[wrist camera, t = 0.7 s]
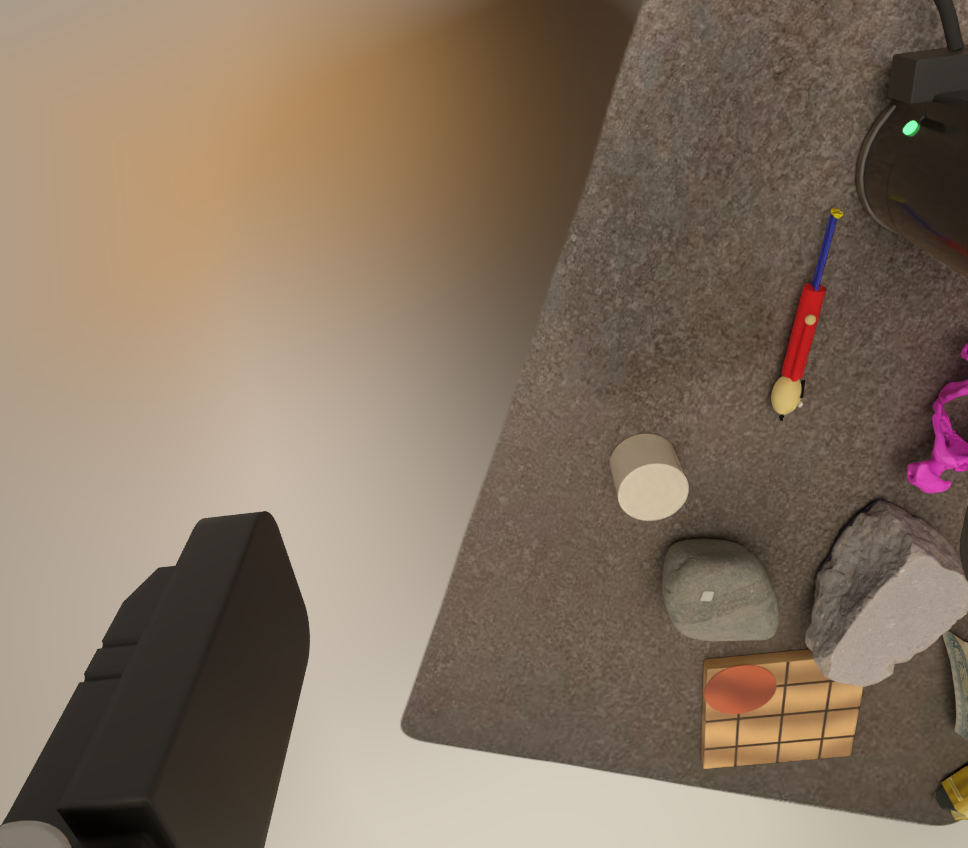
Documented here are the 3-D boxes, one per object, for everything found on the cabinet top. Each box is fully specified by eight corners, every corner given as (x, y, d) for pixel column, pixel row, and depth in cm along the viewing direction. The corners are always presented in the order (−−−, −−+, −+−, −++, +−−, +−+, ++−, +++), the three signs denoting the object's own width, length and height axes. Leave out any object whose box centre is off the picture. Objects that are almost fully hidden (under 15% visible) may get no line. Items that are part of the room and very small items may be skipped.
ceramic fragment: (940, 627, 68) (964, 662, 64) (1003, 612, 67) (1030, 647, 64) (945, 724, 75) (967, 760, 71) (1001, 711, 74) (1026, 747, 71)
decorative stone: (955, 492, 61) (831, 490, 60) (1010, 551, 55) (874, 550, 54) (892, 627, 68) (782, 627, 68) (935, 691, 62) (815, 692, 62)
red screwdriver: (849, 206, 48) (792, 412, 56) (813, 204, 49) (762, 410, 57) (861, 218, 46) (800, 431, 54) (823, 216, 46) (768, 428, 54)
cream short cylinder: (607, 437, 57) (616, 467, 54) (676, 429, 57) (689, 459, 54) (610, 491, 60) (619, 524, 56) (676, 484, 60) (688, 517, 56)
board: (701, 657, 69) (705, 669, 68) (863, 642, 69) (870, 653, 67) (698, 758, 77) (702, 770, 75) (845, 744, 76) (851, 756, 75)
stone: (650, 631, 67) (675, 675, 57) (642, 529, 67) (666, 555, 57) (755, 622, 67) (799, 665, 57) (747, 520, 67) (790, 545, 57)
